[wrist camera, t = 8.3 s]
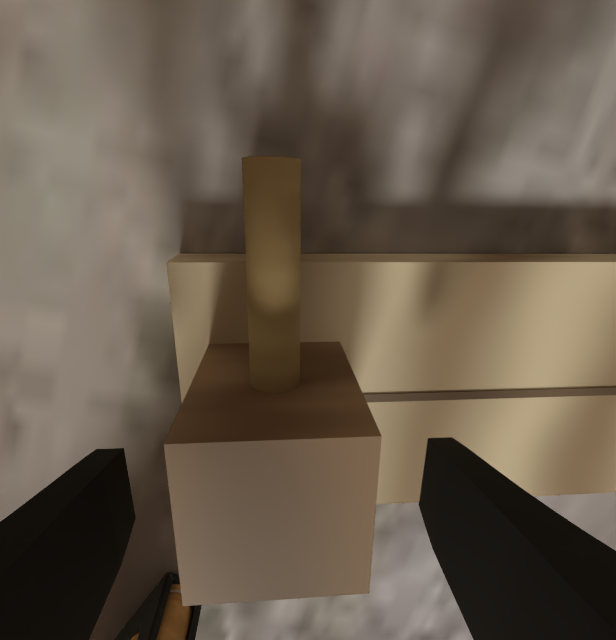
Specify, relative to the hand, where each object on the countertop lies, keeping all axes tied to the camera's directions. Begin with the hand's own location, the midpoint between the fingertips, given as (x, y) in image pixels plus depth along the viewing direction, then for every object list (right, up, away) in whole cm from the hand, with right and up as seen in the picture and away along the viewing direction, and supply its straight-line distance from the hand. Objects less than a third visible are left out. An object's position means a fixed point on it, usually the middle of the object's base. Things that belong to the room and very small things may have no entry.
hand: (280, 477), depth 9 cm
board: (+6, +2, +5) cm, 8 cm away
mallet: (0, +4, +2) cm, 4 cm away
